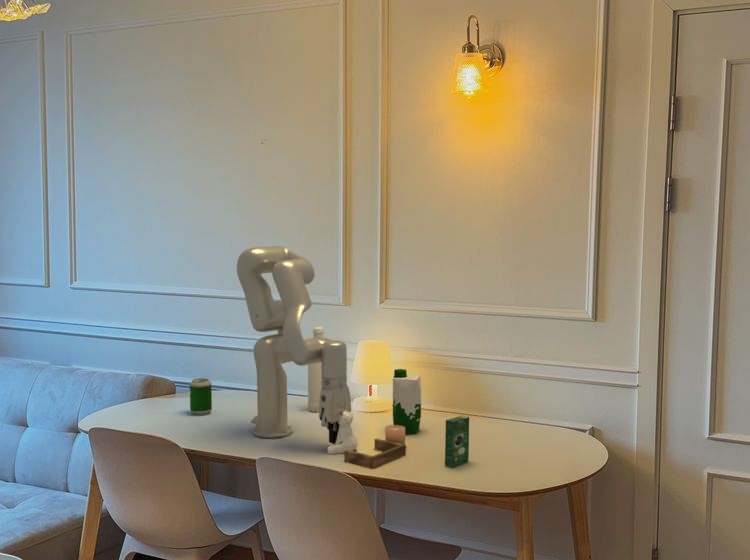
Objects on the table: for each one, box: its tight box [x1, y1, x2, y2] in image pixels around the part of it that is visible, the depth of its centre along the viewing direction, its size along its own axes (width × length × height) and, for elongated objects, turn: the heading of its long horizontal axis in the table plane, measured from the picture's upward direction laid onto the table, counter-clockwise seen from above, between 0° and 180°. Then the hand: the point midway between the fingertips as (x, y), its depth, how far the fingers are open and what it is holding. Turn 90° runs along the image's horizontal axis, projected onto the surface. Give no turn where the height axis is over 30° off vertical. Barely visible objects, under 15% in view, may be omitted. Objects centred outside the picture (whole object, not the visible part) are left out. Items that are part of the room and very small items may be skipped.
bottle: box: [307, 326, 325, 413], centre depth 268 cm, size 8×8×30 cm
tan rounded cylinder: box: [384, 424, 406, 445], centre depth 225 cm, size 6×6×6 cm
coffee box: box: [444, 415, 470, 469], centre depth 209 cm, size 8×3×13 cm, turn 137°
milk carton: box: [392, 368, 422, 435], centre depth 241 cm, size 9×9×20 cm
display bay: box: [343, 438, 407, 470], centre depth 214 cm, size 11×15×3 cm
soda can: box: [189, 377, 213, 417], centre depth 264 cm, size 8×8×12 cm
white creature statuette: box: [326, 411, 359, 455], centre depth 222 cm, size 10×9×12 cm
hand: (334, 442), depth 224 cm, fingers closed
